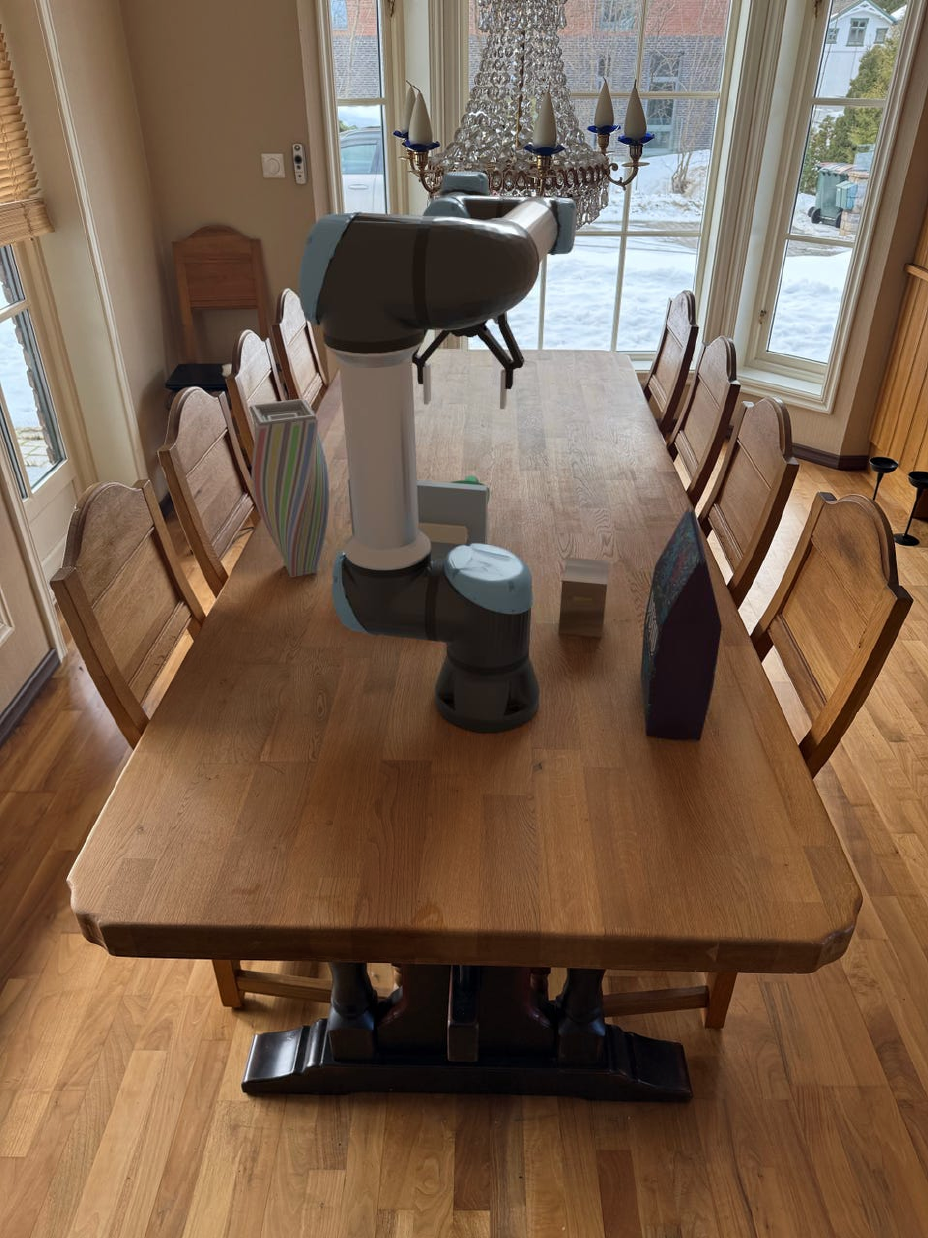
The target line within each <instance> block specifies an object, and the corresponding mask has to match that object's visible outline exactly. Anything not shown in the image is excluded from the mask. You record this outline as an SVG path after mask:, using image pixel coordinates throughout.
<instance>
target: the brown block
mask: <svg viewBox="0 0 928 1238" xmlns="http://www.w3.org/2000/svg"><path fill="white" fill-rule="evenodd" d="M610 562H611V561H609V560H600V559H599V560H597V559H588V558H587V559H586V558H577V557H576V558H575V557H566V559H565V564H564V570H563V573H562V580H561V593H560V604H559V605H560V607H559V621H558V634H559V635H560V634H561V635H571V636H579V637H590V638H597V639H598V638H599V639H601V638H603V629H604V621H605V610H606V602H607V601H606V599H607V591H608V580H609V570H610Z"/></svg>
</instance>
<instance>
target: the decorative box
mask: <svg viewBox="0 0 928 1238" xmlns="http://www.w3.org/2000/svg"><path fill="white" fill-rule="evenodd" d="M700 532H701V531H700V529H699V524H698V520H697V515H696V511H695V507H693V508H692V509H691V511H690V509H689V507H687V509H686V510H685V512H684V513H683V515H682V517H681V518H680V520H679V522H678V525H677V526H676V528H675V529H674V531H673V533H672V535H671V536H670V538H669V540H668V542H667V543H666V546H665V547H664V549H663V551H662V552H661V555H660V556H659V558H658V559H657V561H656V563H655V565H654V569H653V574H652V578H651V579H652V580H651V585H650V589H649V593H648V594H649V595H648V599H647V605H646V611H645V616H644V622H643V631H642V632H643V633H642V645H641V646H642V648H641V662H640V680H641V692H642V701H643V702H642V703H643V715H644V726H645V736H646V737H651V738H659V739H666V740H672V741H674V740H675V741H676V740H677V741H679V740H681V741H682V740H685V741H686V740H691V739H696V740H695V741H700V740H701V738H702V735H703V730H704V727H705V722H706V719H707V713H708V709H709V706H710V701H711V698H712V693H713V689H714V684H715V677H716V671H717V664H718V656H719V649H720V642H721V636H722V635H721V634H722V627H723V626H722V625H723V624H722V620H721V617H720V613H719V612H720V611H719V608H718V604H717V603H718V602H717V599H716V594H715V591H714V586H713V582H712V577H711V574H710V570H709V569H710V568H709V566H708V560H707V558H706V557H707V556H706V551H705V550H704V549H705V548H704V545H703V539H702V537H701V533H700Z"/></svg>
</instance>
